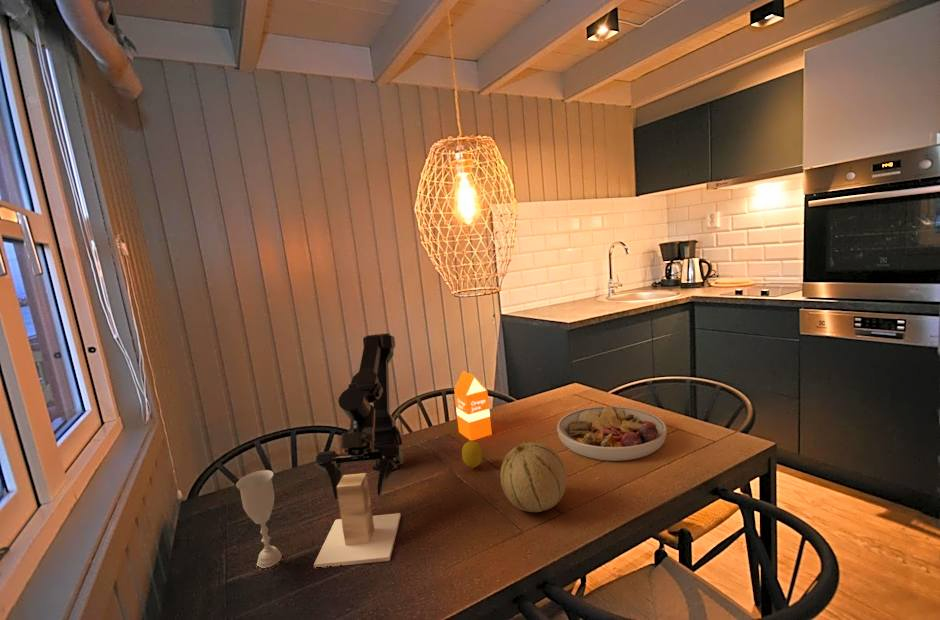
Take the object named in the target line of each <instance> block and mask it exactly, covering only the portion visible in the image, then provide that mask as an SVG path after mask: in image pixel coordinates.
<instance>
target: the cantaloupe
mask: <svg viewBox="0 0 940 620" xmlns="http://www.w3.org/2000/svg"><path fill="white" fill-rule="evenodd" d="M567 475H568V474H567V470H566V465H565V464H564V462H563V460H562V458H561V457H560V455H559V454H558V453H557V452H556V451H555V450H554V449H552V448H551V447H550V446H548V445H545V444H543V443H539V442H538V443H537V442H533V441H532V442H526V443H525V442H524V443H522V444H519V445H517V446H515V447H514V448H512V449H511V450H510V451H509V452H508V453H507V454H506V455H505V457H504V458H503V461H502V464H501V467H500V485H501V488H502V490H503V492H504V495H505V496H506V498H507V499H508V501H509V502H511V504H512V505H513V506H514V507H515V508H516V509H519V510H522V511H524V512H529V513H540V512H543V511H548V510H549V509H550V510H551V509H552V508H553V507H555V506H556V505H558V503H560V500H561V499H562V497H563V496H564V494H565V491H566V489H567V481H568V479H567V478H568V477H567Z"/></svg>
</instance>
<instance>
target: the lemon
mask: <svg viewBox="0 0 940 620" xmlns="http://www.w3.org/2000/svg"><path fill="white" fill-rule="evenodd" d="M463 444H464V445H463V446H462V449H461V459H462V461H463V463H464V464H465V465H466V466H467V467H469V468H472V469H476V467H478V466H479V465H480V464H481V462H482V460H483V450H482V447H481V445H480V444H479V443H478V442H477V441H475V440H468V441H467V442H466V443H463Z"/></svg>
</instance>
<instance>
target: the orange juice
mask: <svg viewBox="0 0 940 620" xmlns="http://www.w3.org/2000/svg"><path fill="white" fill-rule="evenodd" d="M453 391H454V399H455V400H454V401H455V408H456V409H455V410H456V418H457V419H456V420H457V426H458V433H459V434H461V435H462V436H463V437H465V438H466V439H468V441H470V440H472V441H475V440H478V439H481V438H485V437H487V436H491V435H493V434H492V433H493V432H492V425H491V411H490V404H489V395H488V394H489V393H488V389H486V388H485V386H484V385H483V384H482V383H481V382H480V381H479V380H478V379H477V377H476V376H475V375H474V374H471V373H469V372H467V371H464V370H463V371H462V372H461V374H460V377H459V379H458V381H457V382H456V385H455V387H454V389H453Z"/></svg>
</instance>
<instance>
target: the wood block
mask: <svg viewBox="0 0 940 620" xmlns="http://www.w3.org/2000/svg"><path fill="white" fill-rule="evenodd" d="M367 475H368V474H367V472H361V473H351V474H343V475H342V477H341V480H340V482H339V484H338V485H337V487H336V488H337V494H338V500H337V502H338V506H339V507H338V508H339V513H340V519H341V520H342V527H343V534H344V540H345V545H356V544H367V543H369V542H370V539H371V537H372V534H373V531H374V522H373V516H374V515H373V509H372V502H371V496H370V487H369V481H368V476H367Z"/></svg>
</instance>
